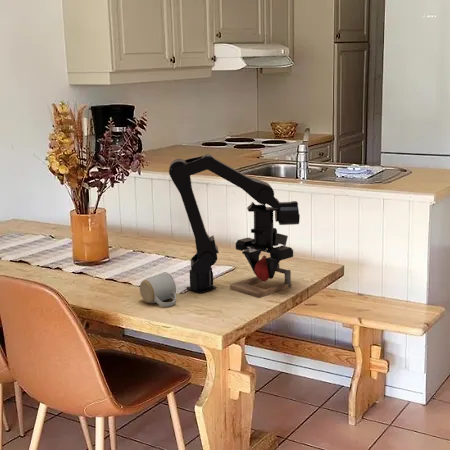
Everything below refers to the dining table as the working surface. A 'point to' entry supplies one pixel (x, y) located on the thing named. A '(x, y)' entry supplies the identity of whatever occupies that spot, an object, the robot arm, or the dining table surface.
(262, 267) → the onion
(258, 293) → the walnut board
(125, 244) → the dining table surface
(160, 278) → the ceramic mug
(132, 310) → the dining table surface
